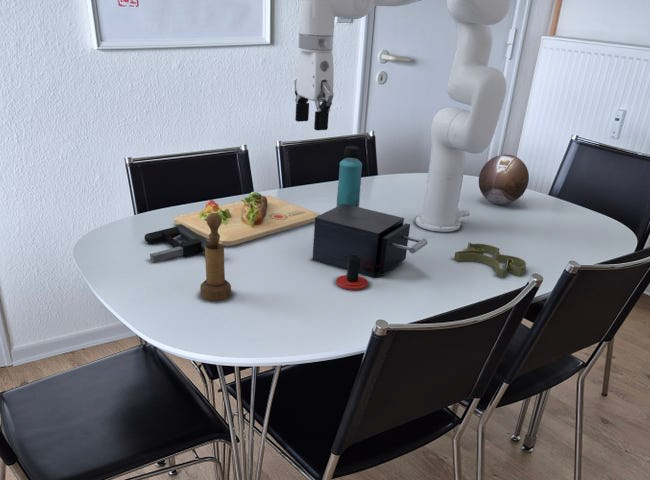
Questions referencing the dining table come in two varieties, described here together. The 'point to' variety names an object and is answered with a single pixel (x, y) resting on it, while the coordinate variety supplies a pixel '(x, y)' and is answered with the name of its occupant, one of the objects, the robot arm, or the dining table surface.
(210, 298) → the mortar and pestle
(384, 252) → the drawer
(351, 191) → the beverage bottle
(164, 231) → the toy gun
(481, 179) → the wooden sphere
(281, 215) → the cutting board
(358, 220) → the dark grey metal box
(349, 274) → the lid
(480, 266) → the dining table surface
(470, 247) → the cookie cutter
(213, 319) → the dining table surface
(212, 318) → the dining table surface
